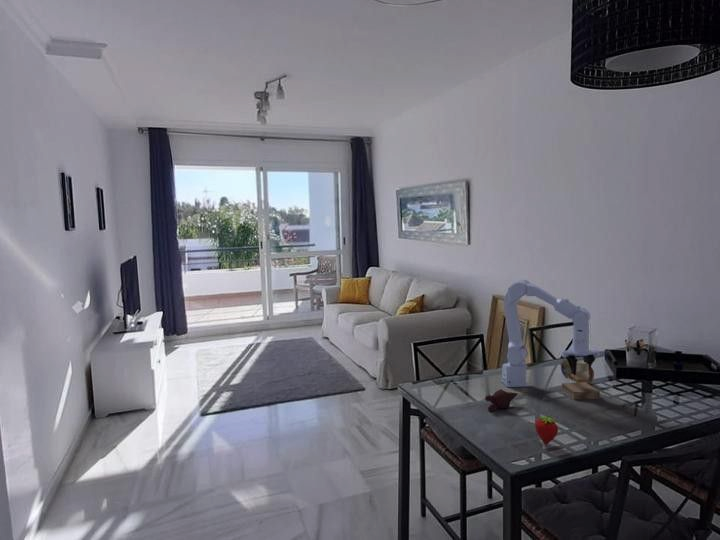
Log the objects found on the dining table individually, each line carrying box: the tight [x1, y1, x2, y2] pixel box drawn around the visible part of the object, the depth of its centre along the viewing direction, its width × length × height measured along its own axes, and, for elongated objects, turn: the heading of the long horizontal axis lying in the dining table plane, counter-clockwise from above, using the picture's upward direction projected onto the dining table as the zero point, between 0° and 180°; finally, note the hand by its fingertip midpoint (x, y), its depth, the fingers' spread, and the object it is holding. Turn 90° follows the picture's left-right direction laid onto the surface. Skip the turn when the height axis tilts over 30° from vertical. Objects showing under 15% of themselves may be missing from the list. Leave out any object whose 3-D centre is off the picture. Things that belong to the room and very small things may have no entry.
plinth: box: [561, 382, 601, 400], centre depth 184 cm, size 10×10×3 cm
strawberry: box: [534, 413, 559, 445], centre depth 144 cm, size 6×8×10 cm
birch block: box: [571, 360, 589, 380], centre depth 183 cm, size 4×4×6 cm
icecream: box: [484, 388, 519, 412], centre depth 173 cm, size 7×7×15 cm
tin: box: [560, 359, 595, 384], centre depth 200 cm, size 15×3×8 cm, turn 25°
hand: (579, 373), depth 183 cm, fingers closed on birch block, 4 cm apart
